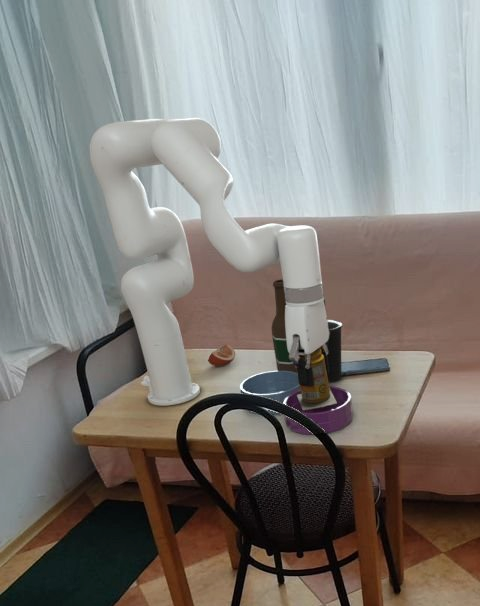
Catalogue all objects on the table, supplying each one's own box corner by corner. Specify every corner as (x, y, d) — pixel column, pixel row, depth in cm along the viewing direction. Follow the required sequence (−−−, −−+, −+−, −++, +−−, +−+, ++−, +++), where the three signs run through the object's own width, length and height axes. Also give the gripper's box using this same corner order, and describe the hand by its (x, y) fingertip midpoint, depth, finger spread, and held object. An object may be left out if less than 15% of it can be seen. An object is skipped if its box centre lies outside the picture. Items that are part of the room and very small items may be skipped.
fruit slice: (221, 359, 176) (218, 342, 174) (242, 360, 174) (239, 343, 171) (204, 370, 169) (201, 352, 167) (226, 371, 167) (222, 353, 165)
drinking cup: (340, 386, 152) (332, 304, 142) (311, 383, 155) (301, 303, 145) (351, 374, 158) (344, 295, 149) (323, 372, 161) (315, 294, 151)
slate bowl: (231, 411, 144) (227, 391, 142) (264, 387, 155) (261, 368, 153) (285, 418, 138) (282, 397, 136) (316, 393, 150) (313, 373, 147)
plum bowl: (274, 431, 133) (270, 409, 131) (306, 403, 145) (303, 383, 142) (334, 439, 128) (332, 417, 125) (363, 410, 139) (361, 389, 137)
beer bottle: (307, 380, 157) (294, 283, 146) (276, 382, 158) (261, 286, 146) (309, 368, 164) (298, 275, 152) (280, 370, 165) (266, 278, 153)
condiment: (329, 388, 137) (320, 336, 131) (337, 403, 130) (328, 349, 124) (296, 395, 136) (286, 343, 130) (302, 411, 129) (292, 356, 123)
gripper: (308, 281, 131) (317, 363, 140) (264, 305, 118) (278, 393, 126) (340, 282, 128) (348, 365, 137) (299, 307, 115) (310, 397, 123)
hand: (314, 378), depth 131 cm, fingers closed on condiment, 6 cm apart
